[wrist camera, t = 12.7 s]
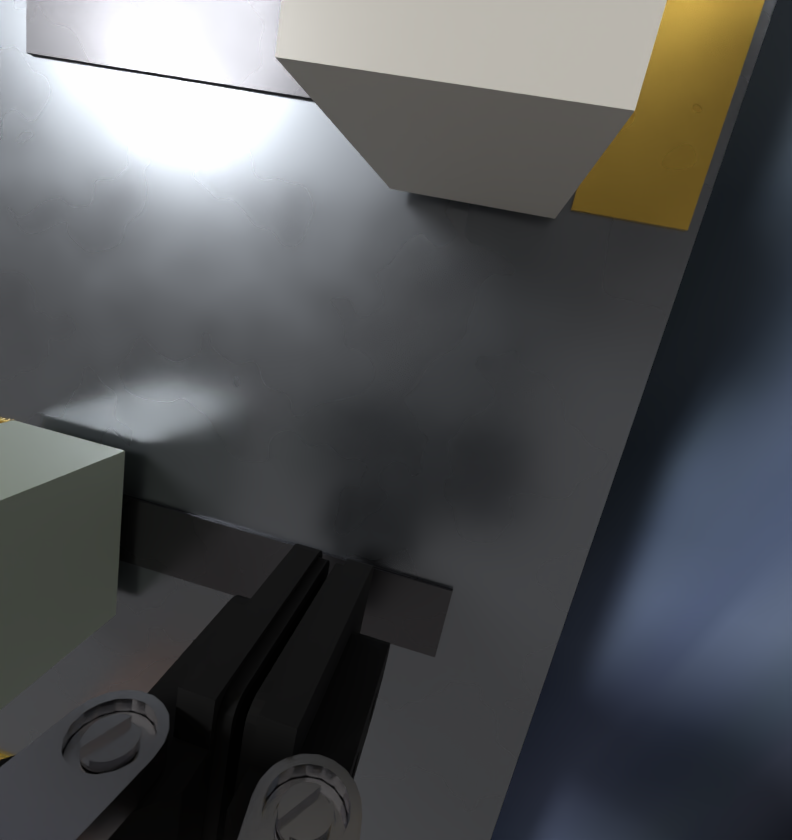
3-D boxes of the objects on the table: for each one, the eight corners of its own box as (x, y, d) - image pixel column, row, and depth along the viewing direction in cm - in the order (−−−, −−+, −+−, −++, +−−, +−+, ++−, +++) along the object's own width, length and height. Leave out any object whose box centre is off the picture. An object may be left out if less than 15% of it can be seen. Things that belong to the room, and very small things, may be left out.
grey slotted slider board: (783, -182, 9) (918, -408, 6) (415, 974, 18) (401, 1105, 15) (53, -234, 11) (-99, -421, 9) (42, 826, 20) (-35, 915, 17)
